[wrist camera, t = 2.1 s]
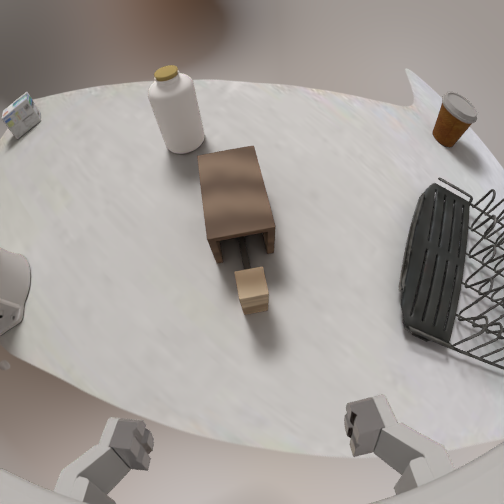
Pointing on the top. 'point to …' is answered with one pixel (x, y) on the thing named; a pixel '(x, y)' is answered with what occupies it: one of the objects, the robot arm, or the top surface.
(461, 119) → the disposable coffee cup
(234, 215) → the cubby
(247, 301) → the tethered block
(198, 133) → the potion bottle
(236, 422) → the top surface
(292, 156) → the top surface
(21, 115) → the light bulb box
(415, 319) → the dish rack
